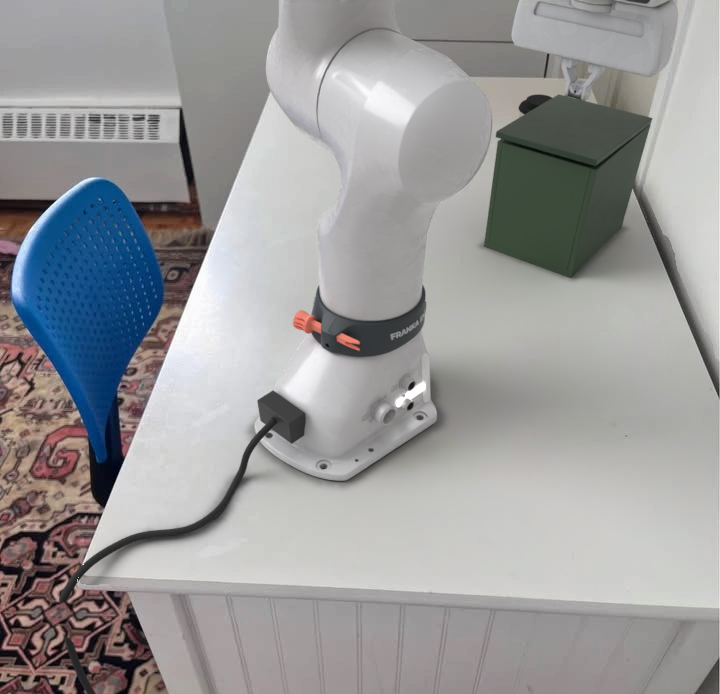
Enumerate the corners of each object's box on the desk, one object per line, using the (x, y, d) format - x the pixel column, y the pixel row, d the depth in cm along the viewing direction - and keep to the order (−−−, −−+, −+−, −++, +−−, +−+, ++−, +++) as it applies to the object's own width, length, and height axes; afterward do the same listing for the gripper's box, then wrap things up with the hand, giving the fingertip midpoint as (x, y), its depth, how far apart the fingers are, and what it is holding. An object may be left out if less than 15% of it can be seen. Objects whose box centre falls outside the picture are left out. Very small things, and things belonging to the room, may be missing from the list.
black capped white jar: (503, 159, 129) (511, 101, 122) (524, 146, 133) (533, 88, 125) (537, 171, 126) (547, 111, 119) (557, 157, 130) (568, 98, 122)
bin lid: (595, 166, 91) (596, 160, 90) (495, 137, 97) (496, 131, 96) (651, 123, 101) (652, 117, 101) (557, 99, 107) (558, 94, 107)
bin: (570, 277, 104) (596, 170, 92) (483, 246, 110) (497, 141, 98) (621, 228, 113) (651, 124, 101) (538, 201, 119) (557, 100, 107)
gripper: (512, -37, 87) (495, 86, 97) (676, -8, 79) (639, 123, 89) (537, -47, 90) (518, 73, 100) (697, -20, 82) (659, 108, 92)
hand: (576, 97), depth 95 cm, fingers closed
